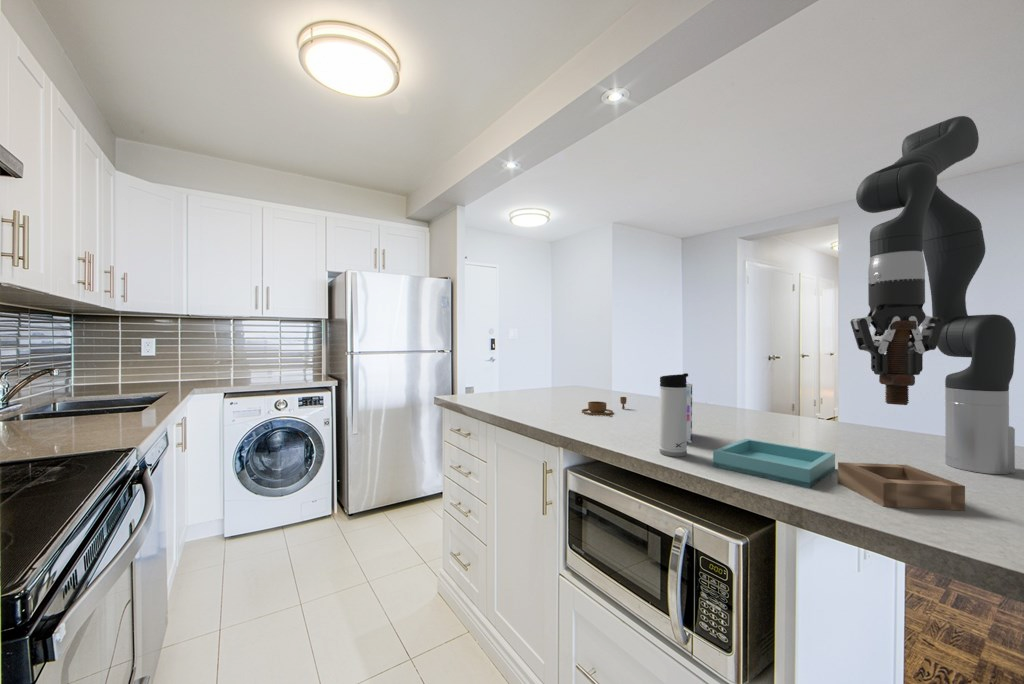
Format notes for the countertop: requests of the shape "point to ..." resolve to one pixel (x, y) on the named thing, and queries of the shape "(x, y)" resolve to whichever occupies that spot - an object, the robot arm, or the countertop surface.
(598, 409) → the place setting
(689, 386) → the candy box
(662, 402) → the travel mug
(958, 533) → the countertop surface
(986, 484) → the countertop surface
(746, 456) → the tray
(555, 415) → the countertop surface
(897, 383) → the bolt
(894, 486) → the tray
